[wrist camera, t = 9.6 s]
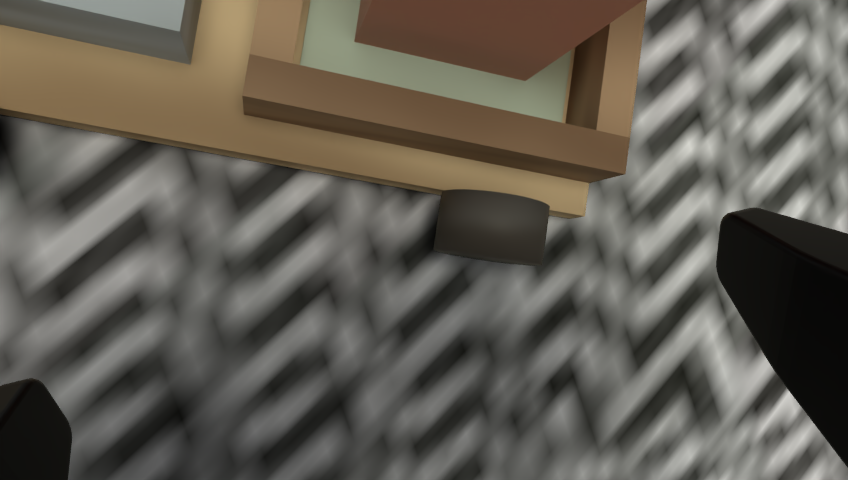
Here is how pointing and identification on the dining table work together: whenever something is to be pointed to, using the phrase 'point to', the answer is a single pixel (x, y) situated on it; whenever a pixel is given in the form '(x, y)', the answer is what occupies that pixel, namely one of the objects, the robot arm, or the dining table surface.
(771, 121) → the dining table surface
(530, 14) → the reddish brown block
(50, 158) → the dining table surface
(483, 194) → the chassis
